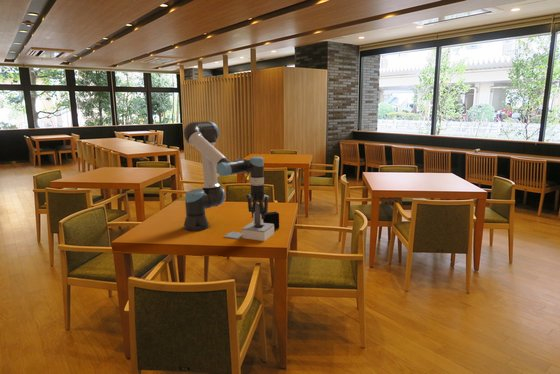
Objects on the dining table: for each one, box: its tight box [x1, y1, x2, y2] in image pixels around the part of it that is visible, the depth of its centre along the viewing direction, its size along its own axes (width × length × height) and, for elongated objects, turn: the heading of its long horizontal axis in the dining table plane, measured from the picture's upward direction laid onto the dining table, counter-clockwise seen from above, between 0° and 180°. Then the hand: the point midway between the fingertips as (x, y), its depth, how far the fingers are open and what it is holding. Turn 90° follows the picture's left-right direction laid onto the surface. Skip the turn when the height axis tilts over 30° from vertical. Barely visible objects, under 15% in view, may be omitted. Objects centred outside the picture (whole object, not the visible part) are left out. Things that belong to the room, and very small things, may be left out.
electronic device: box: [263, 211, 280, 230], centre depth 235 cm, size 4×10×10 cm, turn 111°
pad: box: [223, 231, 242, 240], centre depth 223 cm, size 9×9×1 cm
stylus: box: [255, 202, 262, 228], centre depth 221 cm, size 4×4×17 cm
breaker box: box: [241, 221, 275, 242], centre depth 223 cm, size 14×14×6 cm
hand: (258, 223), depth 222 cm, fingers closed on stylus, 3 cm apart
